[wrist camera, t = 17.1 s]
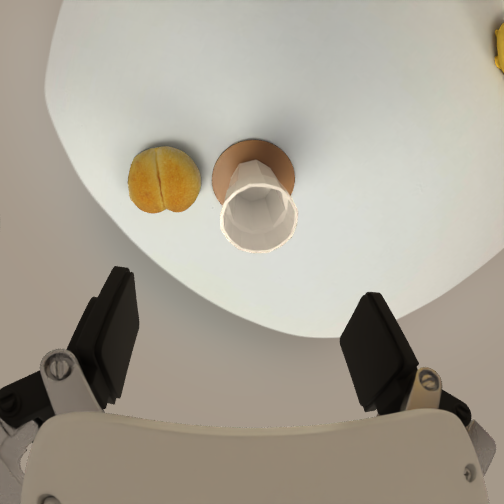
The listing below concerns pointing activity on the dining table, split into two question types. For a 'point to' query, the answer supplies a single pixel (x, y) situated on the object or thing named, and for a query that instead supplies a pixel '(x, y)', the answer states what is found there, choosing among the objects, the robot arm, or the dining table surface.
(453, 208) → the dining table surface
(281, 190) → the cup
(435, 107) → the dining table surface
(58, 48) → the dining table surface
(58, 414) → the robot arm
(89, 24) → the dining table surface
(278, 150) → the coaster
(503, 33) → the teapot
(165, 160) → the bread roll
